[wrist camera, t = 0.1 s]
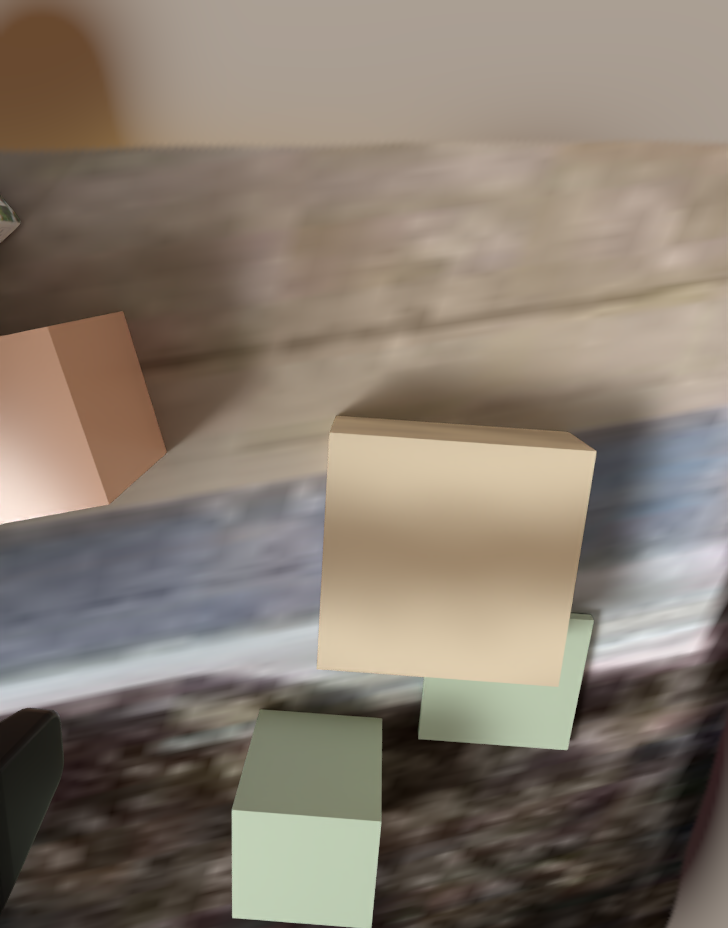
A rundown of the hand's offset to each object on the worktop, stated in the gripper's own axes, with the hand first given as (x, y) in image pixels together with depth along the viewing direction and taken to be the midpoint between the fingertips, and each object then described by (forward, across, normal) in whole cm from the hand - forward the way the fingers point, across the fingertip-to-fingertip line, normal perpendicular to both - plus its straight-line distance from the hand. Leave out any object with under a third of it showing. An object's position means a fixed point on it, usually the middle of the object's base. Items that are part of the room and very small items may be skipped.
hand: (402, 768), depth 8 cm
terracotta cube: (+15, +11, -1) cm, 18 cm away
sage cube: (+15, +2, +14) cm, 20 cm away
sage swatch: (+15, -5, +9) cm, 18 cm away
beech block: (+14, -2, +3) cm, 15 cm away
